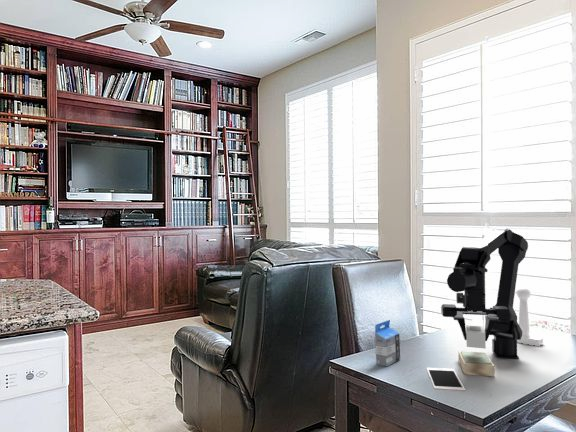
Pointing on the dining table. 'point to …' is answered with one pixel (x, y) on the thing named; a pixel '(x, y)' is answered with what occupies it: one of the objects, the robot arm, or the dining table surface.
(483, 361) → the stand
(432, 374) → the cell phone
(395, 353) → the label tape box
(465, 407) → the dining table surface
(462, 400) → the dining table surface
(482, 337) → the box
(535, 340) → the joystick
